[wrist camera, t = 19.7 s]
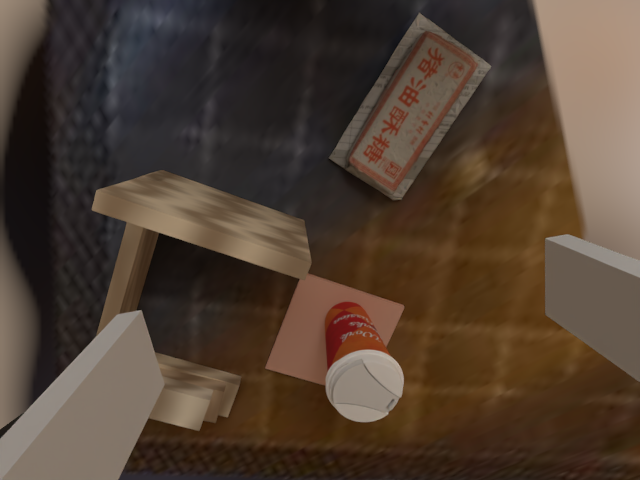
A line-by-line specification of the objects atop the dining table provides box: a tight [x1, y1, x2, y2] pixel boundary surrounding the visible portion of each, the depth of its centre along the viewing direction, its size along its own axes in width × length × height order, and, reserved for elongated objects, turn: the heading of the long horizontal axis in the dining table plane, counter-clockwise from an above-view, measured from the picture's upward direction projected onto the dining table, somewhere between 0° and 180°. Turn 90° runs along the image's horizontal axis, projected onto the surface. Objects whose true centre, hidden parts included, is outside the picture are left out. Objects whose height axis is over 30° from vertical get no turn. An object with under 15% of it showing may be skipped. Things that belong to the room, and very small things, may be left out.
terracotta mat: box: [265, 273, 405, 386], centre depth 51 cm, size 14×14×1 cm
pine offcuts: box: [148, 352, 241, 431], centre depth 49 cm, size 14×5×6 cm, turn 69°
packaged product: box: [329, 12, 491, 200], centre depth 43 cm, size 18×5×10 cm
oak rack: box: [92, 170, 312, 336], centre depth 41 cm, size 17×28×16 cm, turn 159°
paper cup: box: [325, 302, 404, 422], centre depth 44 cm, size 8×8×14 cm
